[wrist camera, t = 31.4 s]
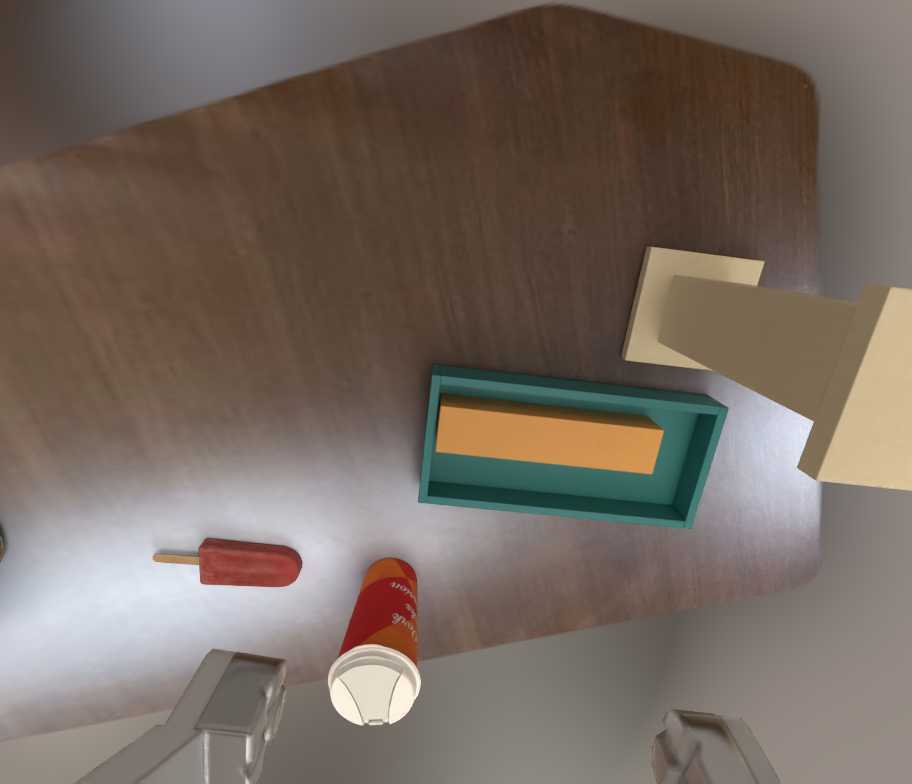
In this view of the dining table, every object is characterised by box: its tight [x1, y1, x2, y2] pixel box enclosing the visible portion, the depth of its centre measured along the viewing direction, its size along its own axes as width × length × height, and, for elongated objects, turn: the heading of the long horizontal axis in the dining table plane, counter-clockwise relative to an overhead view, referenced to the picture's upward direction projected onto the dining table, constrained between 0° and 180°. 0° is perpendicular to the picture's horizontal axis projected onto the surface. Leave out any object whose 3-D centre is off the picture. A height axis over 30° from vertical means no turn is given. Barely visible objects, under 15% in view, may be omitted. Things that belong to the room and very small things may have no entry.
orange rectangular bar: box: [435, 393, 664, 474], centre depth 45 cm, size 20×4×4 cm, turn 83°
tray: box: [418, 364, 728, 529], centre depth 46 cm, size 27×13×4 cm, turn 83°
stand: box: [621, 247, 912, 491], centre depth 32 cm, size 12×10×26 cm
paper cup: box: [328, 558, 421, 725], centre depth 46 cm, size 8×8×14 cm
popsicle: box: [153, 539, 302, 587], centre depth 50 cm, size 4×2×15 cm
